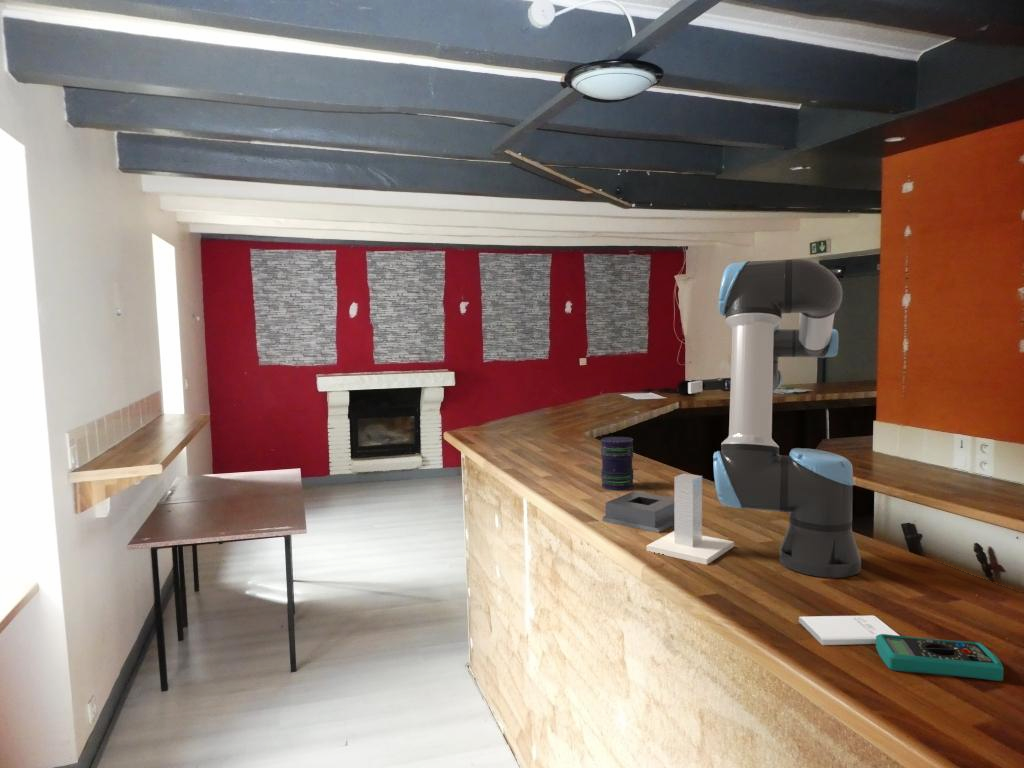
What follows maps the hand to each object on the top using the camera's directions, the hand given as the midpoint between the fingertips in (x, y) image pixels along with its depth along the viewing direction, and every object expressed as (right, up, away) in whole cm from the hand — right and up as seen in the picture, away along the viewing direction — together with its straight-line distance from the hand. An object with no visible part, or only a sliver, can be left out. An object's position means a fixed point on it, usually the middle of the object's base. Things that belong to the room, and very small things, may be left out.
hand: (715, 389), depth 157 cm
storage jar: (-16, -31, +46) cm, 57 cm away
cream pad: (-9, -35, -12) cm, 38 cm away
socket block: (-13, -33, +13) cm, 38 cm away
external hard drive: (+5, -39, -52) cm, 65 cm away
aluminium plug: (-10, -34, -11) cm, 37 cm away
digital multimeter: (+13, -40, -62) cm, 75 cm away
